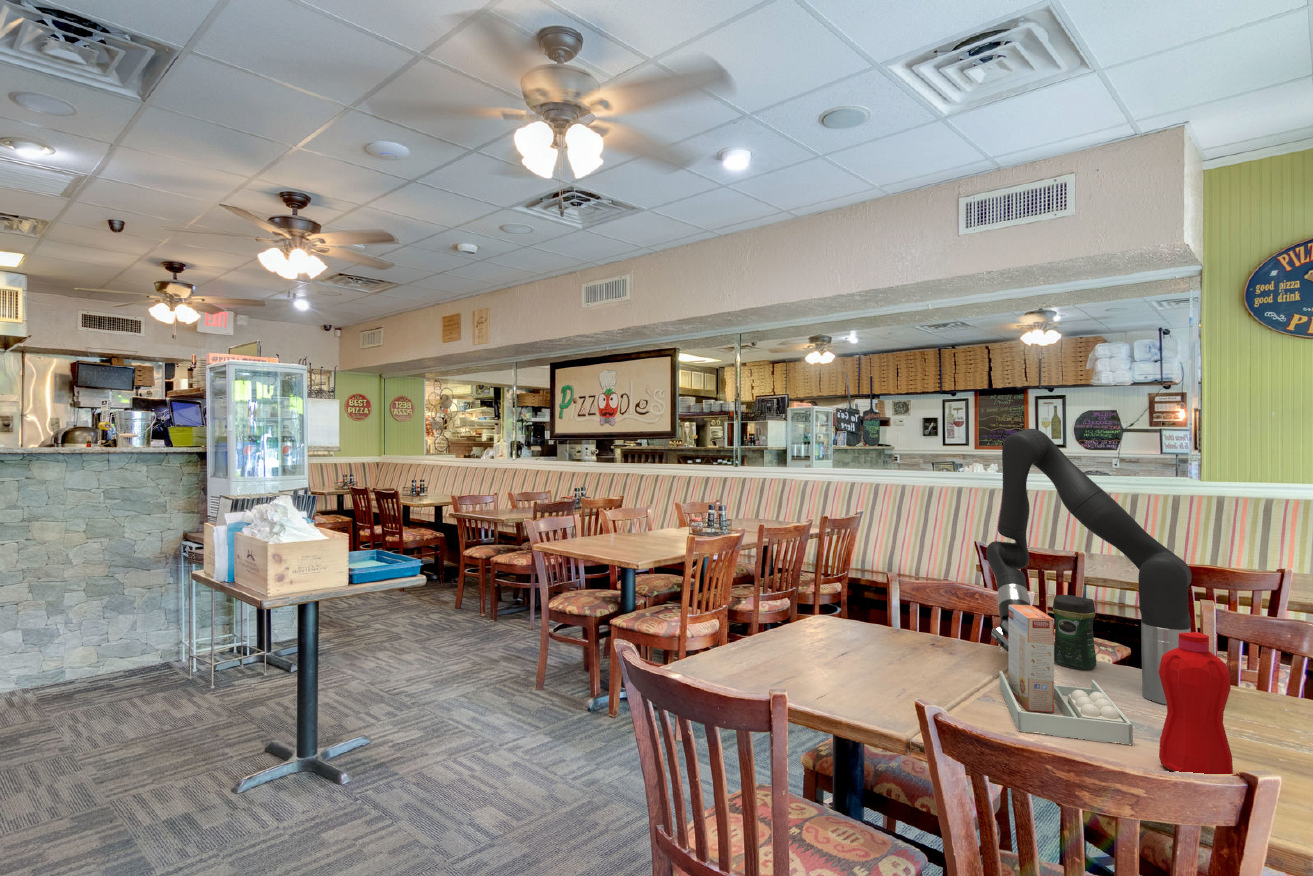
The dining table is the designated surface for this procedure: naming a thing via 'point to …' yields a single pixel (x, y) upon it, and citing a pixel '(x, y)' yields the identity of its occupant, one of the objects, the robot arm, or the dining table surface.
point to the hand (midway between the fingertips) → (1022, 666)
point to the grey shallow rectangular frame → (1068, 718)
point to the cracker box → (1031, 657)
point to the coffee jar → (1074, 632)
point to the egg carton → (1093, 706)
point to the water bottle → (1195, 708)
